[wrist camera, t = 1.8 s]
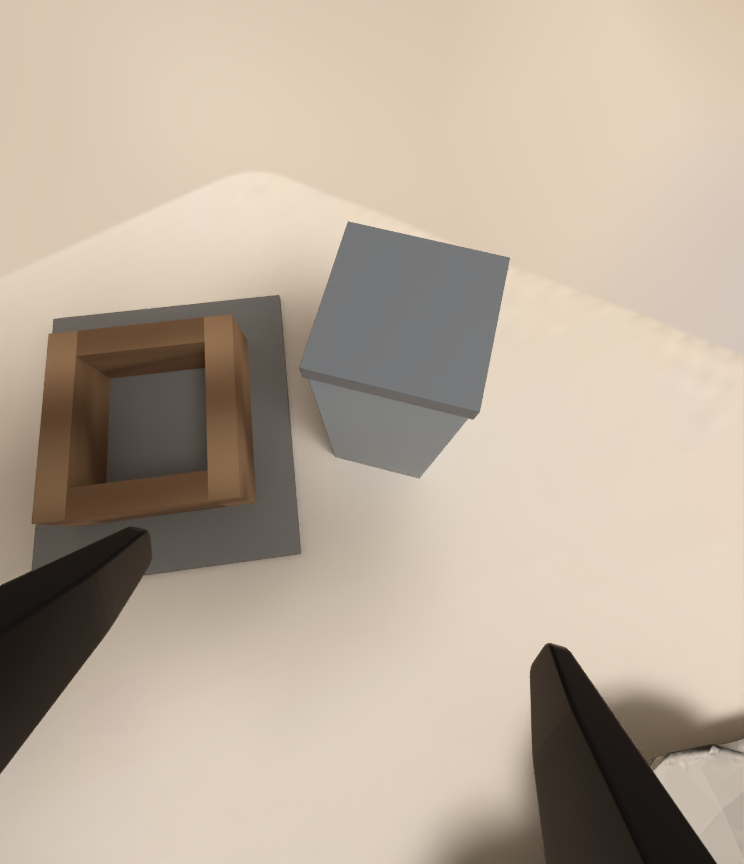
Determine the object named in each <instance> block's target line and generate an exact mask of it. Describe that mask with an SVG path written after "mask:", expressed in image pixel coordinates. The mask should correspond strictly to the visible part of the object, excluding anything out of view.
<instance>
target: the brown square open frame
mask: <svg viewBox="0 0 744 864" xmlns="http://www.w3.org/2000/svg"><path fill="white" fill-rule="evenodd" d="M200 368H205V379H206V420H207V461H208V470H206V471H198V472H190V473H182V474H174V475H167V476H159V477H151V478H143V479H135V480H127V481H119V482H111V483H106V476H107V452H108V429H109V406H110V383H111V379H112V378H121V377H130V376H138V375H147V374H156V373H165V372H174V371H182V370H191V369H200ZM253 503H256V487H255V469H254V451H253V433H252V415H251V397H250V379H249V361H248V343H247V339H246V338H245V336H244V334H243V333H242V331H241V329H240V327H239V326H238V324H237V322H236V321H235V319H234V317H233V315H232V314H229V315H220V316H210V317H201V318H192V319H182V320H173V321H164V322H155V323H145V324H136V325H127V326H117V327H108V328H99V329H90V330H80V331H71V332H62V333H52V334H49V337H48V348H47V360H46V371H45V382H44V393H43V404H42V415H41V426H40V438H39V449H38V460H37V471H36V482H35V493H34V504H33V515H32V524H41V525H58V526H75V527H77V526H84V525H92V524H100V523H107V522H115V521H123V520H130V519H138V518H146V517H153V516H161V515H169V514H176V513H184V512H192V511H199V510H207V509H215V508H222V507H230V506H238V505H245V504H253Z"/></svg>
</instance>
